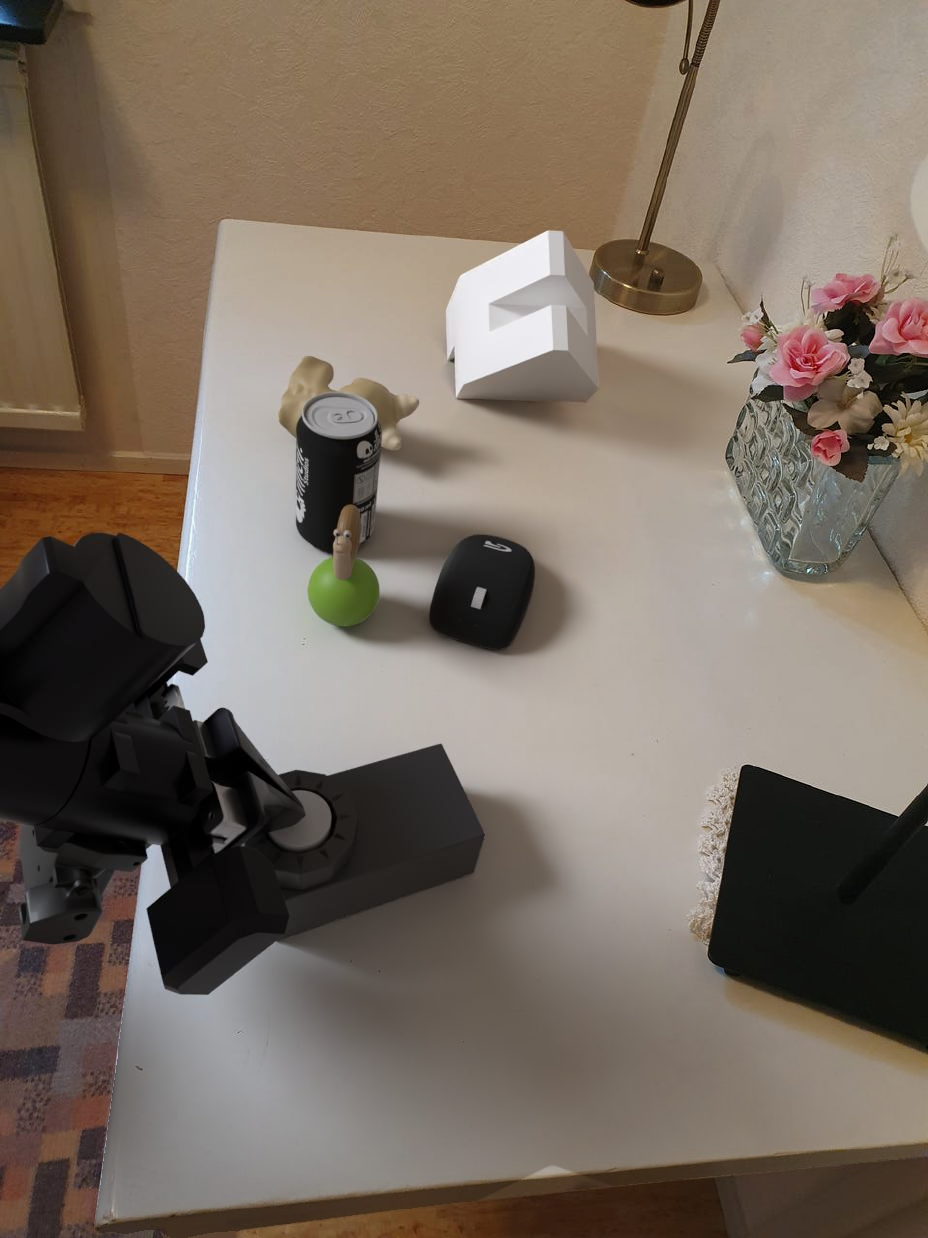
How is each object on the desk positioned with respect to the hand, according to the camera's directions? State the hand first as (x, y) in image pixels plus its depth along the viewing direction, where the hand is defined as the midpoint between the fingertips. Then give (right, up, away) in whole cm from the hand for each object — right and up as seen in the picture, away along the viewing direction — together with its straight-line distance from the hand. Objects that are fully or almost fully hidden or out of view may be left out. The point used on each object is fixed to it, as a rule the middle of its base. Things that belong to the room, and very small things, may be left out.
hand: (298, 814), depth 52 cm
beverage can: (-2, +18, +27) cm, 33 cm away
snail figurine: (0, +11, +20) cm, 23 cm away
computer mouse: (+11, +13, +24) cm, 30 cm away
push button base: (+3, -4, +7) cm, 8 cm away
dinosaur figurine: (-2, +28, +36) cm, 45 cm away
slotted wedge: (+15, +35, +45) cm, 59 cm away
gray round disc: (0, -2, +2) cm, 2 cm away
